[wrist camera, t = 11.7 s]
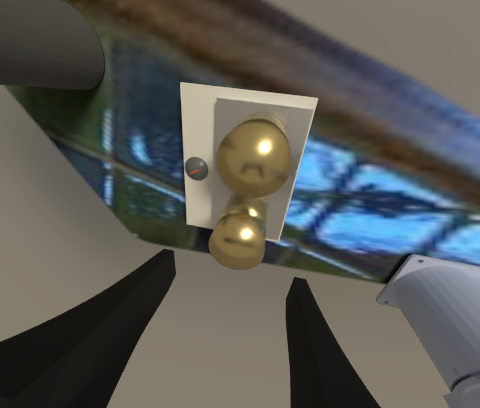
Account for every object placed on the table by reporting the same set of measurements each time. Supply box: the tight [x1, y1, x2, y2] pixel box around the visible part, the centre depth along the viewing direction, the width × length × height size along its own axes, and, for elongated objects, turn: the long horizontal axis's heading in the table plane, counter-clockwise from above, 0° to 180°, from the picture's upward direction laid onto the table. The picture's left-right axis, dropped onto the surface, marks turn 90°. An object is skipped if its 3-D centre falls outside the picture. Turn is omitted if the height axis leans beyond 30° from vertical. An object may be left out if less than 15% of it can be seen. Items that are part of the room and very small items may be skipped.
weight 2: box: [209, 195, 267, 270], centre depth 15 cm, size 4×4×5 cm
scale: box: [180, 82, 318, 242], centre depth 17 cm, size 10×13×2 cm
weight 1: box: [216, 113, 292, 198], centre depth 12 cm, size 4×4×5 cm
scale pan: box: [212, 98, 314, 240], centre depth 16 cm, size 7×12×1 cm, turn 174°
